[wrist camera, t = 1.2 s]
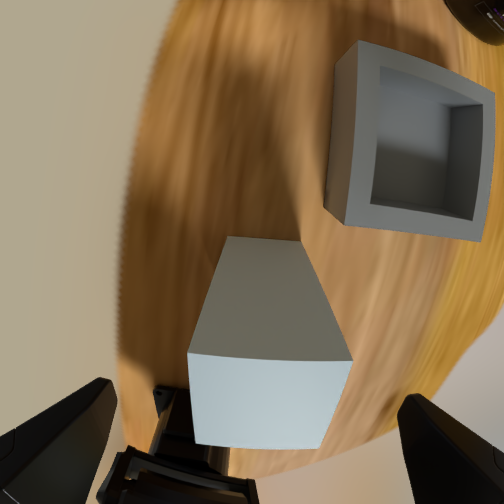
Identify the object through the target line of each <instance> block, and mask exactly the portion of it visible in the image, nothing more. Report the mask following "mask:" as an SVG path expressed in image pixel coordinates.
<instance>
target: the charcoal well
mask: <svg viewBox="0 0 504 504" xmlns="http://www.w3.org/2000/svg"><path fill="white" fill-rule="evenodd" d="M494 148H495V93H494V92H492V91H490V90H488V89H487V88H485V87H483V86H481V85H479V84H477V83H475V82H473V81H471V80H469V79H467V78H465V77H463V76H461V75H459V74H457V73H454V72H452V71H450V70H448V69H445V68H443V67H441V66H438V65H436V64H433V63H431V62H428V61H426V60H423V59H420V58H417V57H415V56H412V55H409V54H406V53H403V52H400V51H397V50H394V49H391V48H387V47H384V46H380V45H377V44H373V43H369V42H365V41H361V40H357V41H356V42H355V43H354V44H353V45H352V46H351V47H350V48H349V49H348V51H347V52H346V53H345V54H344V55H343V56H342V57H341V58H340V59H339V60H338V61H337V63H336V64H335V73H334V95H333V112H332V127H331V139H330V151H329V162H328V172H327V182H326V191H325V200H324V208H325V209H326V210H327V211H328V212H329V213H331V214H332V215H333V216H334V217H335V218H336V219H338V220H339V221H340V222H341V223H342V224H343V225H346V226H356V227H365V228H374V229H383V230H392V231H400V232H408V233H416V234H424V235H432V236H439V237H447V238H454V239H461V240H468V241H475V242H481V239H482V234H483V230H484V225H485V220H486V214H487V209H488V203H489V196H490V189H491V182H492V173H493V162H494Z"/></svg>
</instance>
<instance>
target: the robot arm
mask: <svg viewBox="0 0 504 504" xmlns="http://www.w3.org/2000/svg"><path fill="white" fill-rule="evenodd" d="M159 391H160V392H159ZM153 395H154V400H155V405H156V409H157V413H158V418H159V421H158V424H157V427H156V430H155V433H154V436H153V440H152V443H151V446H150V449H149V452H148V453H145V452H142V451H140V450H137V449H136V448H135V447H132V446H130V445H128V447H127V449H126V451H125V452H117V454H116V457H115V459H114V462H113V464H112V467H111V469H110V471H109V473H108V475H107V476H106V478H105V480H104V481H103V483H102V485H101V487H100V488H99V490H98V492H97V495H96V499H97V501H98V503H99V504H259V499H258V494H257V489H256V483H255V480H254V479H248V478H247V479H241V478H236V477H231V476H228V467H229V456H230V447H222V446H213V445H204V444H197V443H196V441H195V433H194V424H193V415H192V405H191V395H190V390H186V389H179V388H173V387H166V386H161V385H157V386H155V387H154V389H153ZM116 407H117V396H116V392H115V389H114V386H113V383H112V381H111V380H109V379H105V378H102V377H99V378H96V379H95V380H93V381H92V382H90V383H88V384H87V385H85V386H84V387H82V388H80V389H79V390H77V391H76V392H74V393H72V394H71V395H69V396H67V397H66V398H64V399H62V400H61V401H59V402H57V403H56V404H54V405H53V406H51V407H49V408H48V409H46V410H45V411H43V412H41V413H39V414H38V415H36V416H34V417H33V418H31V419H29V420H28V421H26V422H24V423H23V424H21V425H19V426H18V427H16V429H13V430H11V431H9V432H7V433H6V434H4V435H2V436H0V504H85V503H86V500H87V497H88V494H89V491H90V488H91V486H92V482H93V480H94V477H95V474H96V472H97V469H98V466H99V463H100V461H101V458H102V455H103V453H104V450H105V447H106V444H107V441H108V437H109V433H110V429H111V425H112V421H113V418H114V414H115V410H116ZM397 420H398V426H399V431H400V437H401V444H402V450H403V455H404V460H405V464H406V468H407V471H408V476H409V480H410V484H411V488H412V492H413V496H414V501H415V504H504V453H503V452H502V451H500V450H499V449H497V448H496V447H494V446H492V445H491V444H490V443H488V442H487V441H486V440H484V439H483V438H481V437H480V436H479V435H477V434H476V433H474V432H473V431H471V430H470V429H469V428H467V427H466V426H464V425H463V424H461V423H460V422H459V421H457V420H455V419H454V418H453V417H451V416H450V415H449V414H447V413H446V412H444V411H443V410H442V409H440V408H439V407H438V406H436V405H435V404H433V403H432V402H431V401H429V400H428V399H426V398H425V397H424V396H422V395H421V394H419V393H415V394H409V395H407V396H406V398H405V399H404V401H403V403H402V405H401V407H400V409H399V410H398V413H397ZM130 478H131V480H129V479H130Z"/></svg>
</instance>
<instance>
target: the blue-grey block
mask: <svg viewBox="0 0 504 504" xmlns="http://www.w3.org/2000/svg"><path fill="white" fill-rule="evenodd" d="M187 357H188V371H189V383H190V395H191V405H192V415H193V424H194V433H195V441H196V443H197V444H204V445H213V446H222V447H234V448H249V449H318V448H319V447H320V445H321V442H322V440H323V438H324V436H325V433H326V431H327V429H328V426H329V424H330V422H331V419H332V417H333V414H334V412H335V409H336V407H337V404H338V402H339V399H340V397H341V394H342V391H343V389H344V386H345V383H346V380H347V378H348V375H349V372H350V369H351V366H352V363H353V359H352V357H351V354H350V352H349V349H348V347H347V344H346V342H345V340H344V337H343V335H342V332H341V330H340V328H339V325H338V323H337V321H336V318H335V316H334V314H333V311H332V309H331V307H330V304H329V302H328V300H327V297H326V295H325V293H324V291H323V288H322V286H321V284H320V282H319V279H318V277H317V275H316V273H315V271H314V268H313V266H312V264H311V262H310V260H309V257H308V255H307V253H306V251H305V249H304V247H303V245H302V242H301V241H289V240H276V239H263V238H249V237H235V236H227V239H226V242H225V245H224V248H223V250H222V253H221V256H220V259H219V261H218V264H217V267H216V270H215V273H214V276H213V278H212V281H211V284H210V287H209V290H208V293H207V296H206V299H205V301H204V304H203V307H202V310H201V313H200V316H199V319H198V322H197V325H196V328H195V331H194V334H193V337H192V340H191V343H190V346H189V349H188V352H187Z"/></svg>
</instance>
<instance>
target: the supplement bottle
mask: <svg viewBox="0 0 504 504" xmlns="http://www.w3.org/2000/svg"><path fill="white" fill-rule="evenodd" d="M445 1H446V3H447V5H448V7H449V8H450V10H451V11H452V13H453V14H454V15H455V17H456V18H457V19H458V20H459V22H460V23H461V24H462V25H463V26H464V27H465V28H466V29H467V30H468V31H469V32H470V33H471V34H473V35H474V36H475V37H476V38H478V39H479V40H481V41H483V42H485V43H487V44H490V45H494V46H499V45H504V0H445Z"/></svg>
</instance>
